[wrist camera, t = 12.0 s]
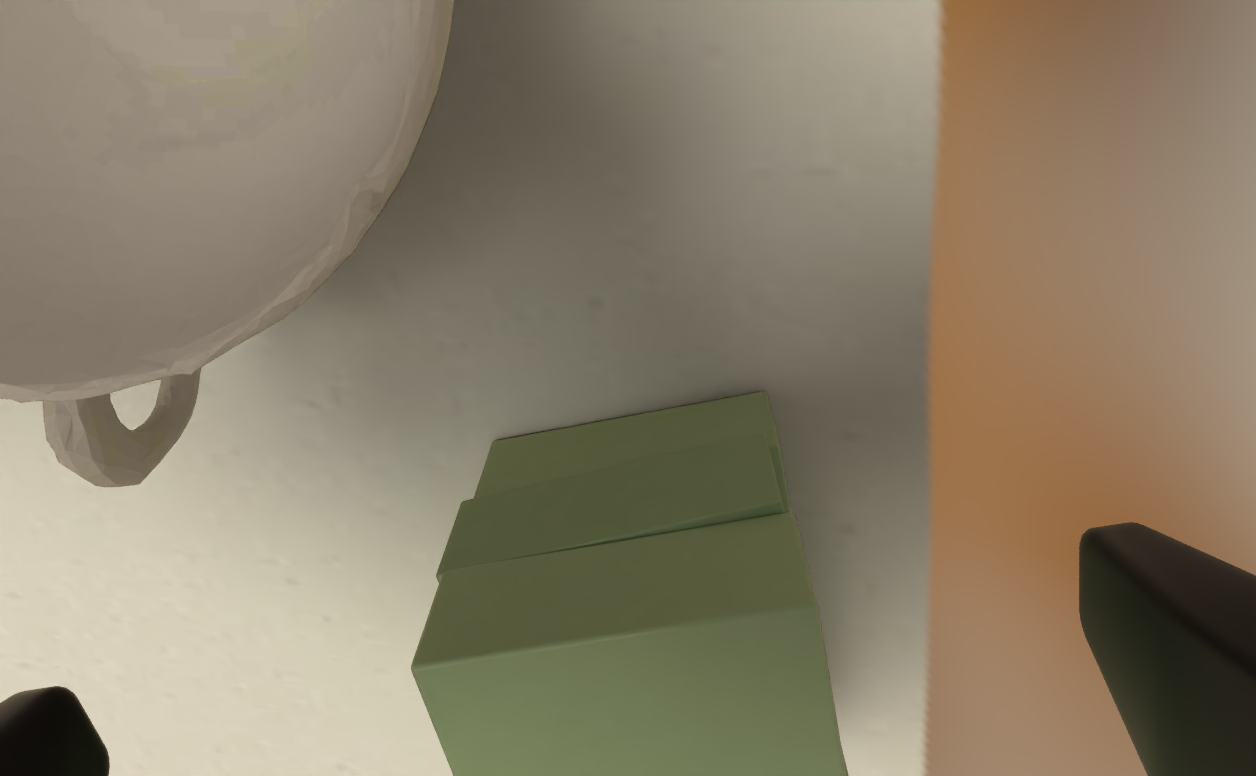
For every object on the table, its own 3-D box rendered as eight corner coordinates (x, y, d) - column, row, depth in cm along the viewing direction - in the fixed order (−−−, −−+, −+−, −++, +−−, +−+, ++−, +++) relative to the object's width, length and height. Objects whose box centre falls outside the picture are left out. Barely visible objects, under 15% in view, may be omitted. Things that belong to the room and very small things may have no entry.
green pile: (574, 730, 26) (556, 906, 21) (477, 428, 22) (428, 561, 17) (828, 692, 25) (869, 866, 20) (773, 373, 21) (808, 495, 16)
